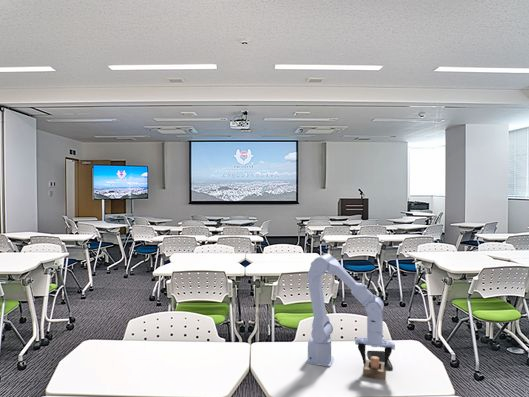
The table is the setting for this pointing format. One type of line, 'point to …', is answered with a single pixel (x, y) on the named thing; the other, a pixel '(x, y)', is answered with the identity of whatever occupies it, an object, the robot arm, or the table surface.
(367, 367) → the socket block
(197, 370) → the table surface
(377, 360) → the peg
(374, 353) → the phone
